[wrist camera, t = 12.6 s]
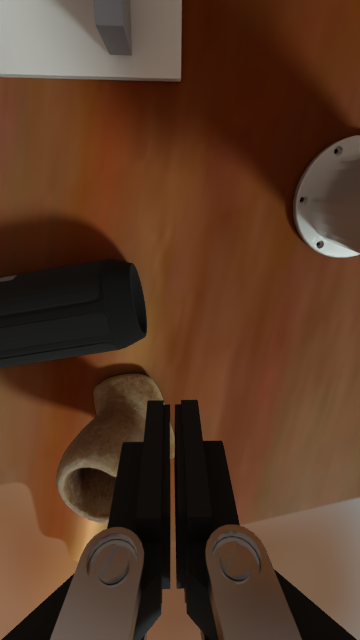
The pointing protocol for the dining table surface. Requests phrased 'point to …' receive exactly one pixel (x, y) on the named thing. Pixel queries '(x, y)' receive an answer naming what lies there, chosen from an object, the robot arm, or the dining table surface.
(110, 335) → the portable speaker
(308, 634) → the robot arm
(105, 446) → the stone cup
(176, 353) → the dining table surface
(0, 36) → the press frame
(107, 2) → the grey t-shaped bar
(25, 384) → the dining table surface
